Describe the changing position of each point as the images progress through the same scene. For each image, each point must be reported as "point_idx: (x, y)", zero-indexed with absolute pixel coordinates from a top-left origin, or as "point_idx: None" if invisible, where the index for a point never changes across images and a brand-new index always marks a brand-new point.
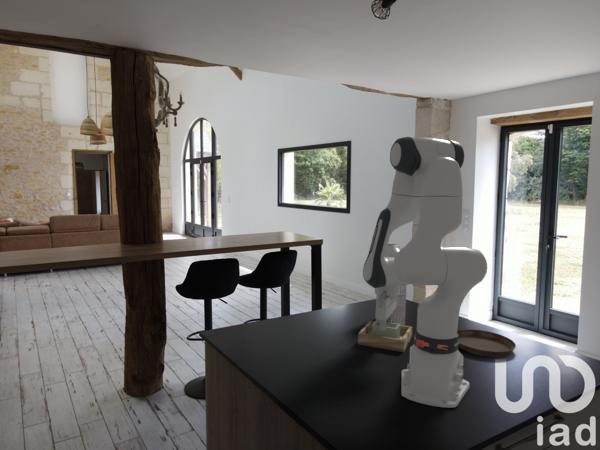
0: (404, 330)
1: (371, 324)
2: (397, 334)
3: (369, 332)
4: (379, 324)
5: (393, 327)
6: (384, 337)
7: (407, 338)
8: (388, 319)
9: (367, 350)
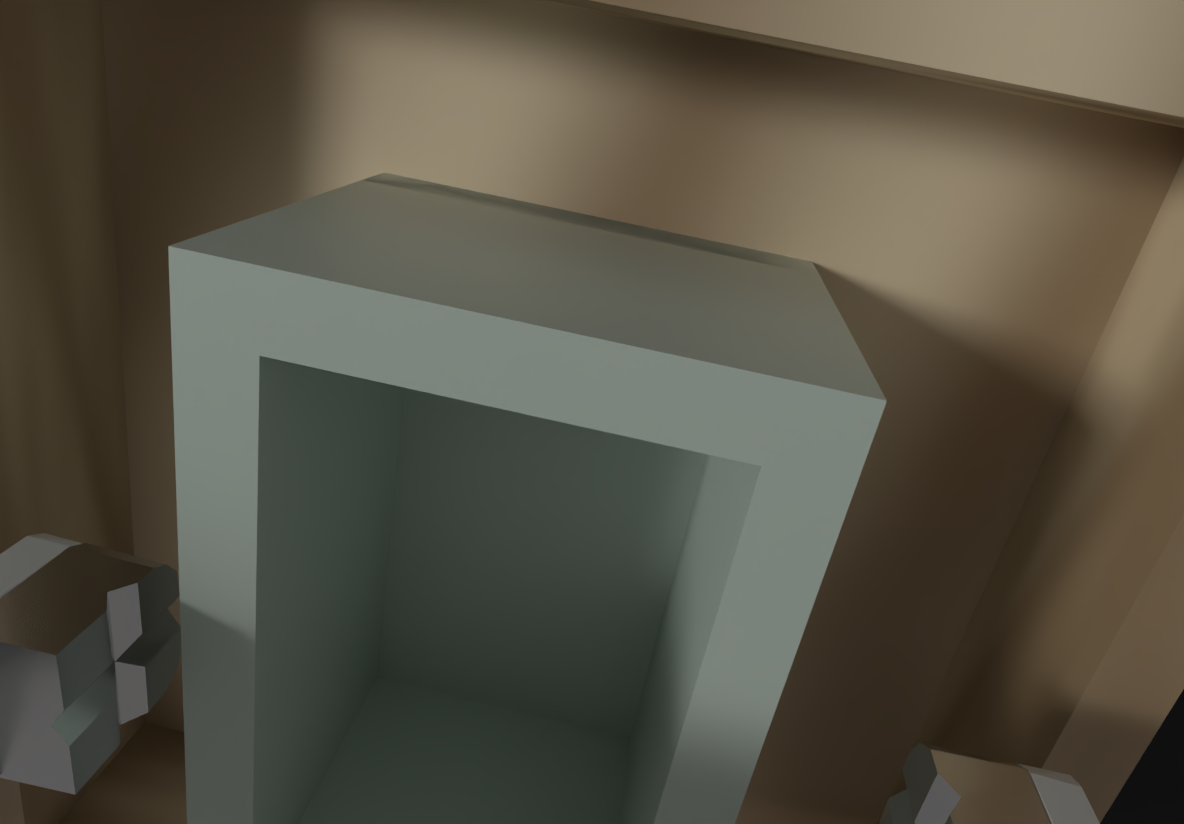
0: (26, 49)
1: (106, 817)
2: (728, 293)
3: None
4: (291, 796)
5: (319, 439)
6: (1177, 677)
7: None
8: (74, 711)
9: (1156, 775)
